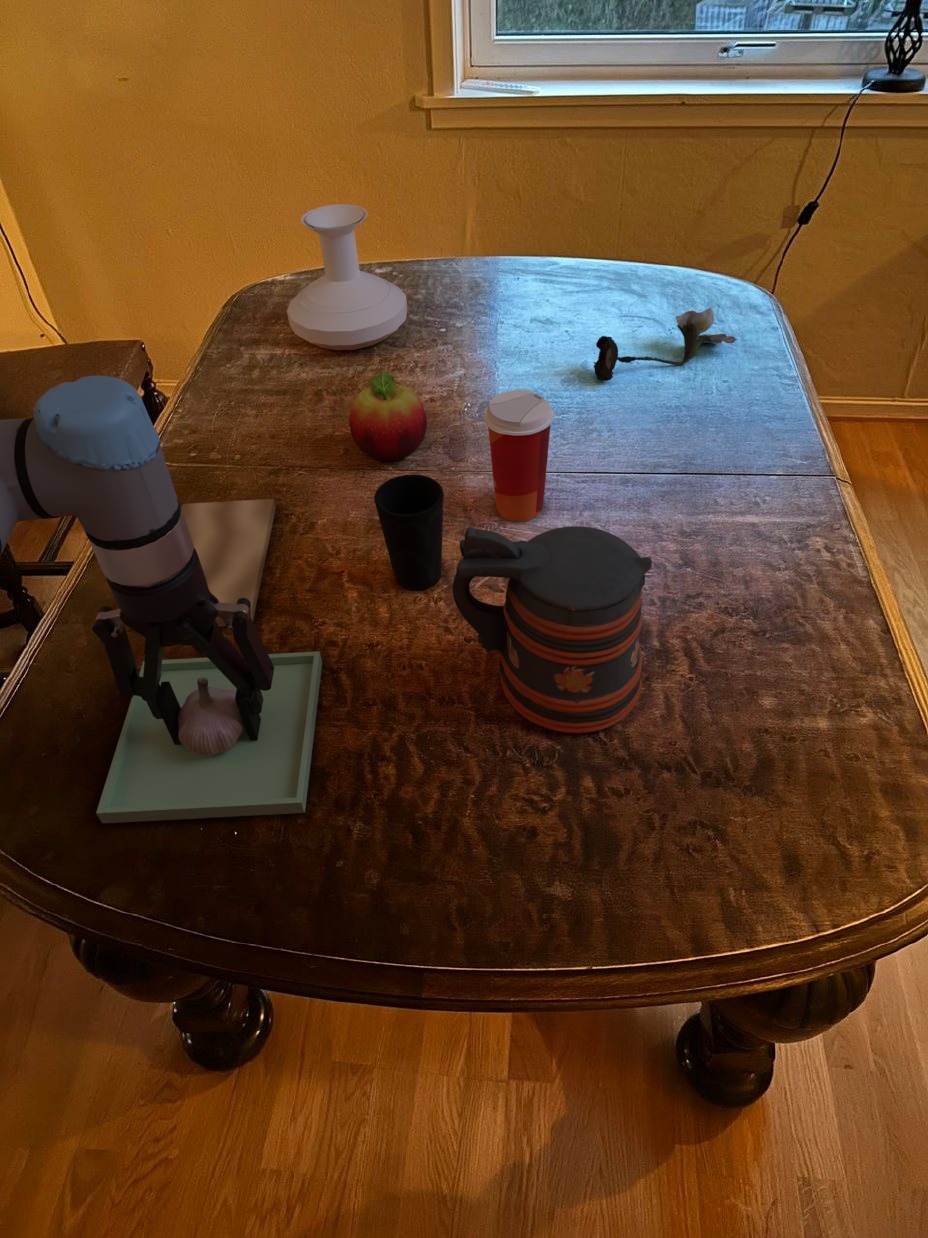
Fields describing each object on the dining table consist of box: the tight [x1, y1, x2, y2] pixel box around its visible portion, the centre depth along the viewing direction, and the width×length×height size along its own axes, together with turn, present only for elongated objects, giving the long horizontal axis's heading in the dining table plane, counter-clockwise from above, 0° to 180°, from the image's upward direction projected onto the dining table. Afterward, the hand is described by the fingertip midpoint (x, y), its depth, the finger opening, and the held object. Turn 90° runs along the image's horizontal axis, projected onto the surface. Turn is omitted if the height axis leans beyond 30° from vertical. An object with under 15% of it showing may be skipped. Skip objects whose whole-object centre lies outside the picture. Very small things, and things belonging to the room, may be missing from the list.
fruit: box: [348, 370, 428, 462], centre depth 122 cm, size 11×11×10 cm
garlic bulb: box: [177, 677, 244, 757], centre depth 87 cm, size 8×7×8 cm
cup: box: [373, 473, 445, 592], centre depth 102 cm, size 8×8×12 cm
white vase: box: [286, 203, 408, 351], centre depth 144 cm, size 20×20×19 cm
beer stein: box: [452, 525, 653, 734], centre depth 86 cm, size 19×15×20 cm
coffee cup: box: [484, 389, 555, 522], centre depth 109 cm, size 8×8×15 cm
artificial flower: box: [592, 306, 738, 382], centre depth 136 cm, size 9×22×10 cm, turn 106°
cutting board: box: [181, 498, 277, 628], centre depth 109 cm, size 12×22×2 cm, turn 2°
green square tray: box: [95, 651, 323, 824], centre depth 89 cm, size 19×19×2 cm
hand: (218, 731), depth 89 cm, fingers closed on garlic bulb, 7 cm apart
